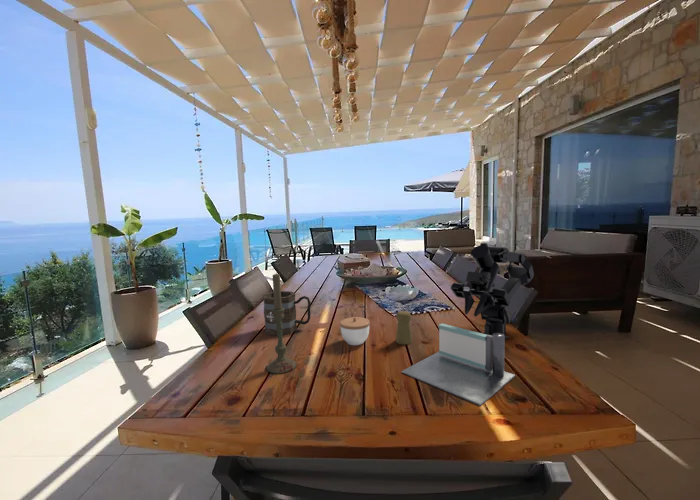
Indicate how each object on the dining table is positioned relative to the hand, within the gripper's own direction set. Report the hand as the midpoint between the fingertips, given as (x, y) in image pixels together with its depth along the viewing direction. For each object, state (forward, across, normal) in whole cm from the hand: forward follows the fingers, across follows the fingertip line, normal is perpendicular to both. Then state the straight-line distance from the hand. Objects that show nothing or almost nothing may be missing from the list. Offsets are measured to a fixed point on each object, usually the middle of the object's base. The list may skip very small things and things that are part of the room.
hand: (470, 314), depth 108 cm
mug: (+30, -64, -12) cm, 72 cm away
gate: (+15, +3, +1) cm, 15 cm away
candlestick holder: (+44, -36, -26) cm, 63 cm away
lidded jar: (+23, -34, -5) cm, 42 cm away
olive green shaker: (+14, -22, +4) cm, 26 cm away
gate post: (+21, +5, -3) cm, 21 cm away
